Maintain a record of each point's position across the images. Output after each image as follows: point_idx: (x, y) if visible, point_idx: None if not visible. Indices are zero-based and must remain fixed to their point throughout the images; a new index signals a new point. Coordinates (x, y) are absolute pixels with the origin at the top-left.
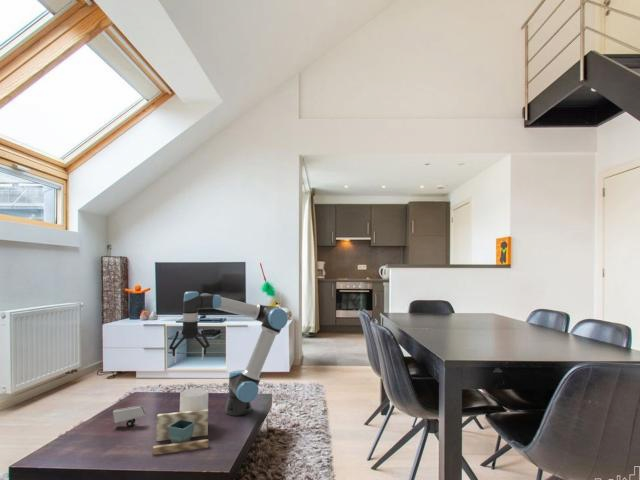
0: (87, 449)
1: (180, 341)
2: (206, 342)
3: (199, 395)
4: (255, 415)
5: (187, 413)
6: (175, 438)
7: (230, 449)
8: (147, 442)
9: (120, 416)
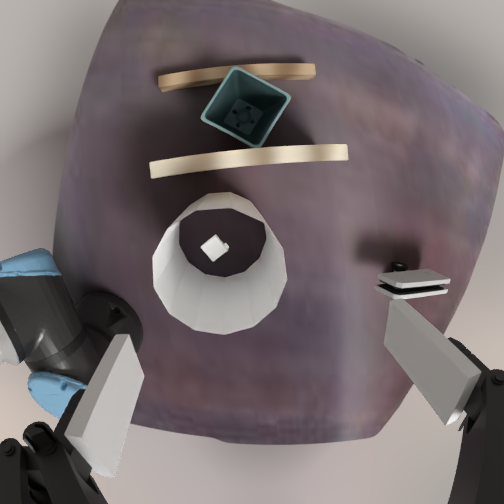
0: (449, 154)
1: (494, 494)
2: (9, 494)
3: (205, 314)
4: None
5: (232, 150)
6: (259, 93)
7: (106, 70)
8: None
9: (428, 274)
